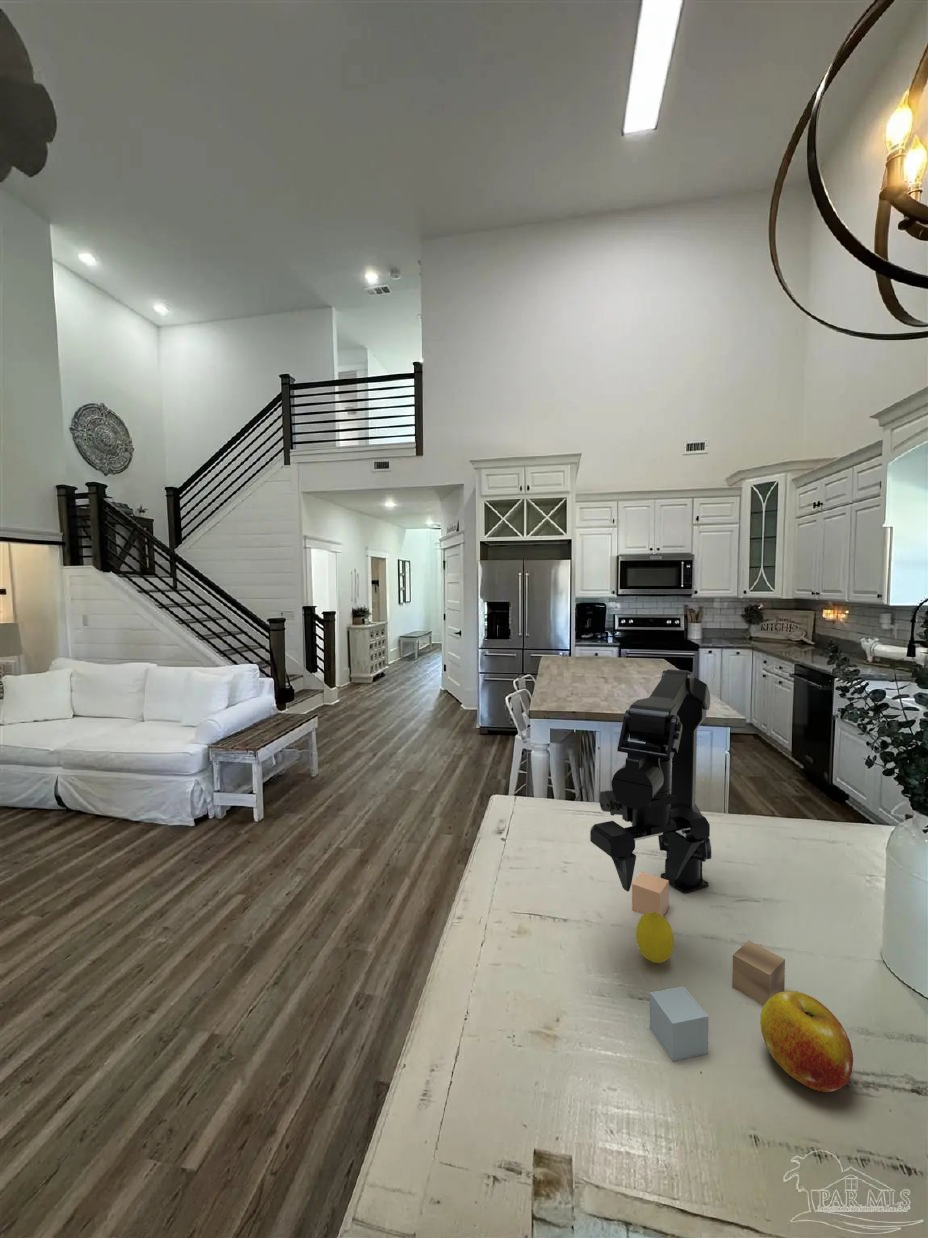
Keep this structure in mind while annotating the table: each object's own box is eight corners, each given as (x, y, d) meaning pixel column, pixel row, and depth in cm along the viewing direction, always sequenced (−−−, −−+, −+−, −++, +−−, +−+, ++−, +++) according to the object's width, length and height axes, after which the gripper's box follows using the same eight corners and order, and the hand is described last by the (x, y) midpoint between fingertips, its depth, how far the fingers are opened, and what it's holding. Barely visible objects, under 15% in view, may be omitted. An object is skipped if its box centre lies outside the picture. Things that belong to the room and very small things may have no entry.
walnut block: (748, 971, 78) (748, 940, 77) (784, 992, 74) (785, 959, 73) (732, 987, 75) (732, 954, 74) (769, 1009, 71) (769, 975, 70)
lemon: (677, 978, 76) (677, 926, 76) (638, 973, 78) (638, 922, 77) (669, 952, 82) (670, 904, 81) (633, 948, 83) (633, 900, 83)
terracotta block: (641, 897, 97) (641, 871, 96) (668, 907, 94) (668, 880, 93) (632, 910, 93) (632, 884, 93) (660, 921, 90) (660, 893, 89)
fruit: (874, 1101, 58) (876, 1034, 57) (805, 1117, 56) (806, 1048, 56) (804, 1030, 67) (805, 972, 67) (743, 1042, 66) (743, 982, 65)
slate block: (683, 1021, 69) (683, 986, 69) (708, 1054, 64) (708, 1016, 64) (649, 1028, 68) (650, 992, 68) (672, 1062, 63) (672, 1023, 63)
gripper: (661, 762, 90) (661, 849, 91) (570, 776, 83) (570, 869, 84) (712, 784, 79) (711, 881, 80) (613, 802, 73) (612, 908, 74)
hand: (650, 883), depth 80 cm, fingers open, 9 cm apart
